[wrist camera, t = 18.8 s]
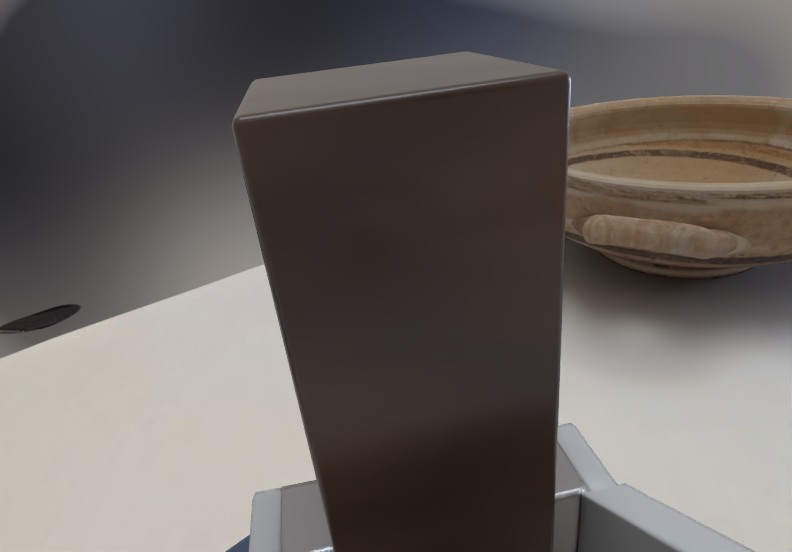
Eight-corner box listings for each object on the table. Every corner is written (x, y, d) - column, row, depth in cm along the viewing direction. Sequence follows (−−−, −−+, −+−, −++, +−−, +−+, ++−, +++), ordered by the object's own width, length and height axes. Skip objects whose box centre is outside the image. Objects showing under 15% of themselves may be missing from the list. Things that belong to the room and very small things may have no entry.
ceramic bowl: (936, 437, 26) (1024, 247, 21) (424, 313, 41) (412, 187, 36) (867, 192, 53) (899, 84, 48) (573, 171, 68) (577, 88, 63)
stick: (407, 857, 12) (228, 117, 5) (383, 695, 15) (249, 79, 7) (544, 815, 12) (575, 70, 5) (495, 664, 15) (470, 50, 8)
